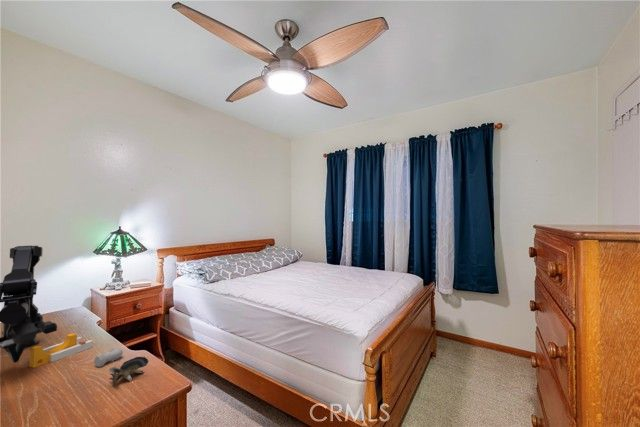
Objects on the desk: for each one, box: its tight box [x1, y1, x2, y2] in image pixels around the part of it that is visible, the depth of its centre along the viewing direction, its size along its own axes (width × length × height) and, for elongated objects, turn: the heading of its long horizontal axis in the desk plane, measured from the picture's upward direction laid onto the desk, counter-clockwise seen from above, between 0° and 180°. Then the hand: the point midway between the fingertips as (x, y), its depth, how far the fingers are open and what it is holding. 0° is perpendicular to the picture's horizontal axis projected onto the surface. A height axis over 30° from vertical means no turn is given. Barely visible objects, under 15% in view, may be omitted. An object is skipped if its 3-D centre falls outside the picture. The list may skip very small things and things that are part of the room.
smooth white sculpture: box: [93, 348, 123, 368], centre depth 92 cm, size 4×8×5 cm
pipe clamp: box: [29, 332, 78, 368], centre depth 94 cm, size 12×4×6 cm, turn 162°
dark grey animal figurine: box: [108, 356, 150, 387], centre depth 82 cm, size 8×7×9 cm
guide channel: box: [42, 336, 94, 363], centre depth 99 cm, size 9×12×3 cm
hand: (15, 362), depth 86 cm, fingers closed
